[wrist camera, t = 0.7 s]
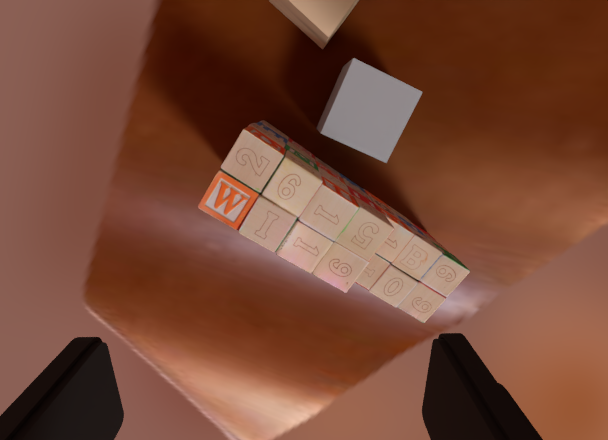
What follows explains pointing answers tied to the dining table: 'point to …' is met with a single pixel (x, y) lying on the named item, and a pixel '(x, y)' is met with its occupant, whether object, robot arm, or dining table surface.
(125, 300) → the dining table surface
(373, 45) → the dining table surface
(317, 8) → the maple cube
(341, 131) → the bluegrey block
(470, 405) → the robot arm
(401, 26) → the dining table surface
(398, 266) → the stack of blocks
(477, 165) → the dining table surface
